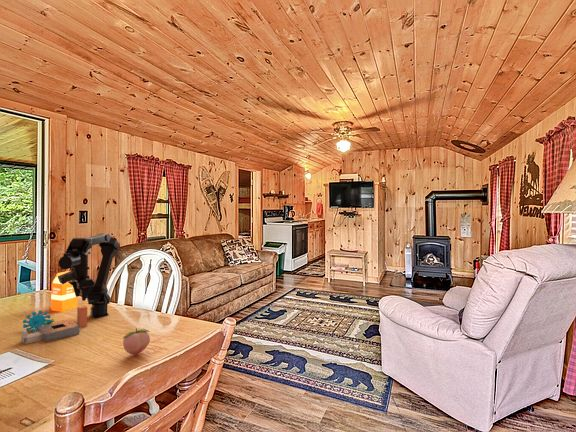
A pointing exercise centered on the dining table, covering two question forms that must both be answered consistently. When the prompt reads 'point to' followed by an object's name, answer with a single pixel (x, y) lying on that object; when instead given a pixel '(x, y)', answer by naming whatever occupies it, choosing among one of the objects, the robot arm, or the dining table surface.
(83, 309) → the terracotta rectangular prism
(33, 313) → the gear
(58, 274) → the orange juice
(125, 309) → the dining table surface
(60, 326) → the grey square hole block
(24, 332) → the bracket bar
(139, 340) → the decorative fruit
